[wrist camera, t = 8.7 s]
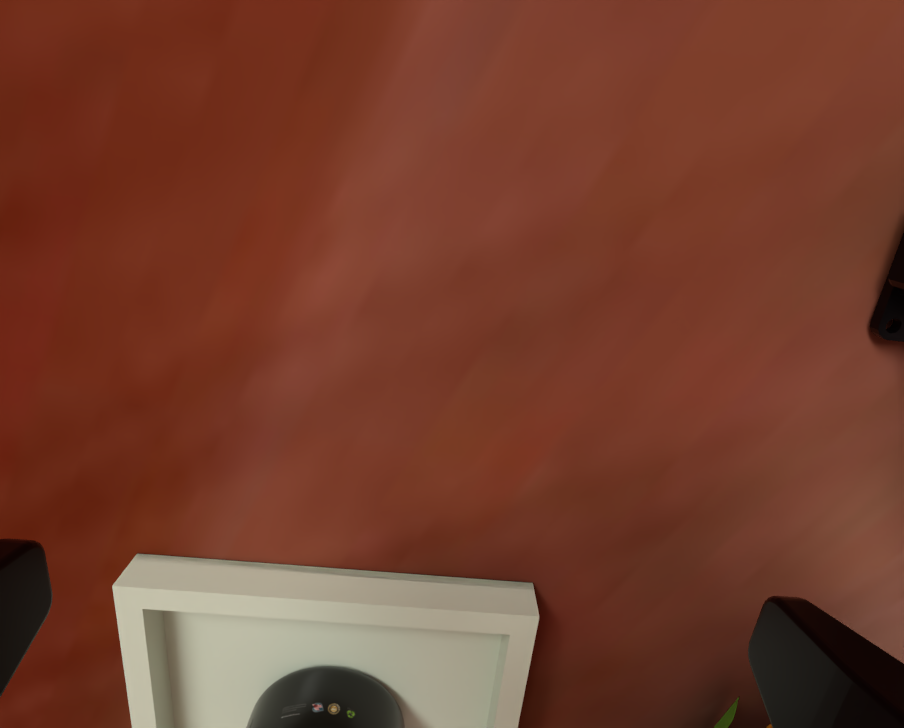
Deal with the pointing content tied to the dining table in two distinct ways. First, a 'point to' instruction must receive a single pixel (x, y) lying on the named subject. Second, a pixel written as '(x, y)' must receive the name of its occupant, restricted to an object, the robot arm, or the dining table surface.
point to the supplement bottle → (326, 701)
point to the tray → (319, 639)
